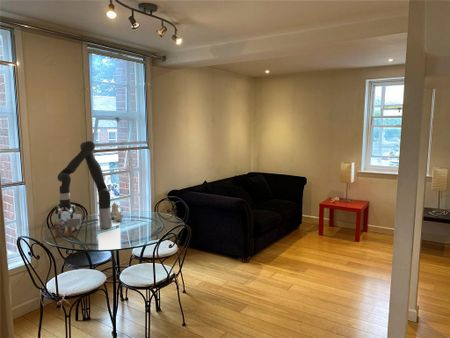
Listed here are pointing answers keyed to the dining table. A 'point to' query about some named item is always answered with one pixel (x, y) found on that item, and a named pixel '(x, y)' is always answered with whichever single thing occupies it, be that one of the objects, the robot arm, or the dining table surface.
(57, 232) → the deck
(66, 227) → the roller front
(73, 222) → the slab
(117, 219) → the chinaware
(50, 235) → the dining table surface
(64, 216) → the snack box
